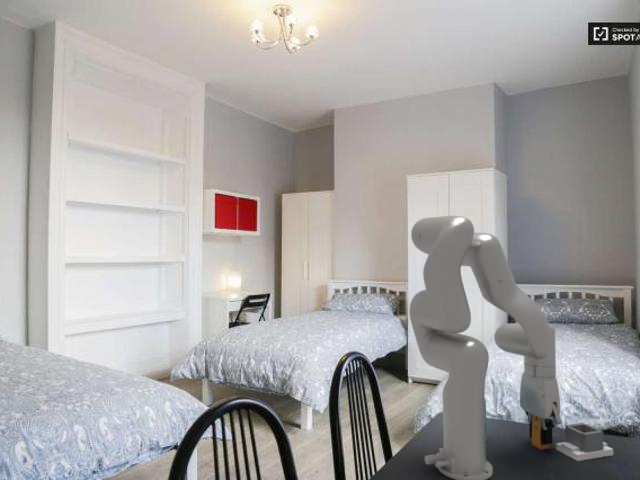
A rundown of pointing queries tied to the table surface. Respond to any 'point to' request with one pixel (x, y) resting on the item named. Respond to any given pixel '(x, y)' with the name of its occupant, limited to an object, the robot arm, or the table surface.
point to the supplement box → (537, 433)
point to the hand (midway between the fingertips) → (540, 440)
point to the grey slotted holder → (584, 443)
